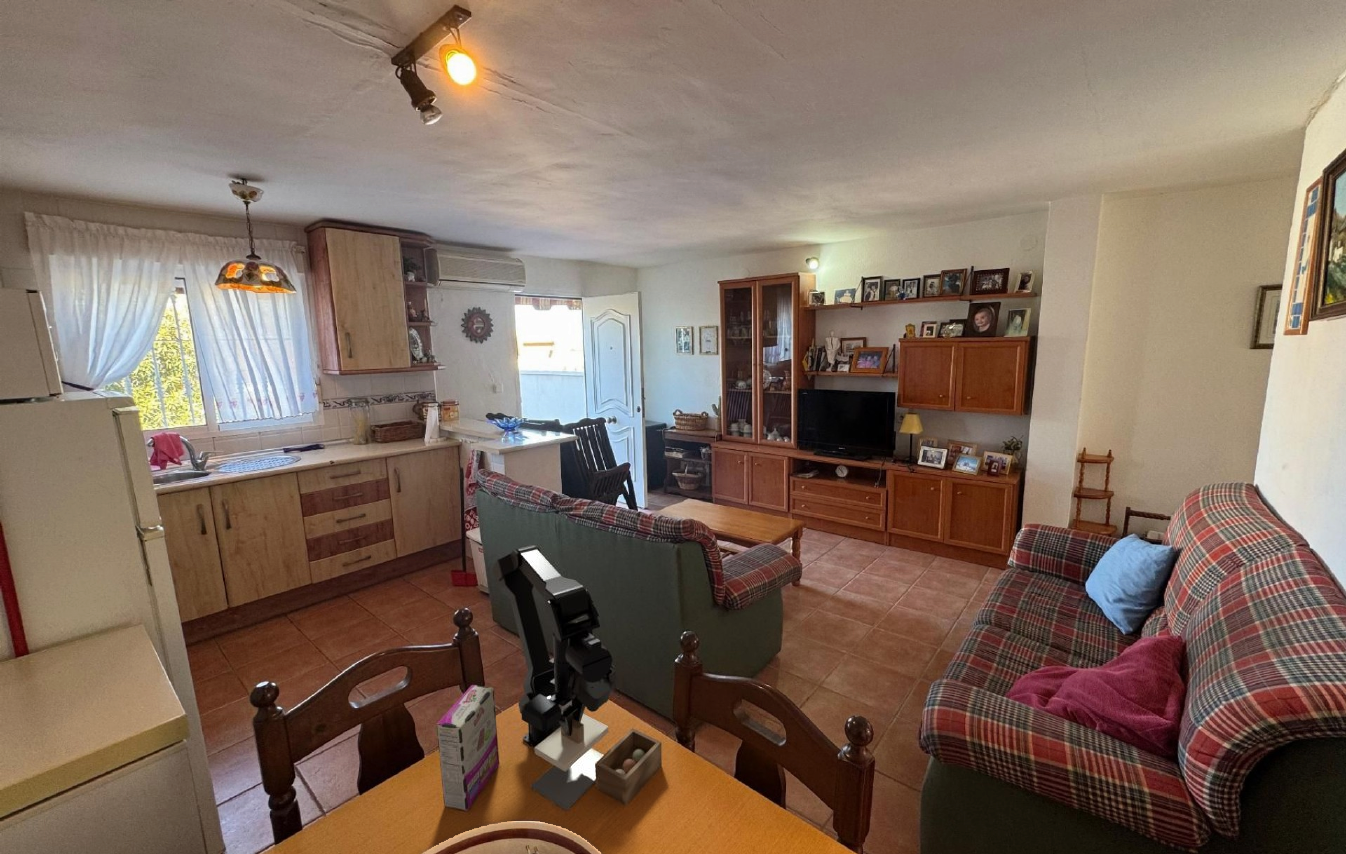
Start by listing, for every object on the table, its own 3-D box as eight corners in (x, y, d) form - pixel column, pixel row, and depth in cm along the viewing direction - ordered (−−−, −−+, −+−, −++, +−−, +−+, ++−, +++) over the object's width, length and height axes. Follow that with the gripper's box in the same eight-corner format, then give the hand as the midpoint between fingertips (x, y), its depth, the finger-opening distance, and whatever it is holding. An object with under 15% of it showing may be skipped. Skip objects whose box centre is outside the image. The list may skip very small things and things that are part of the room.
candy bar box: (476, 760, 105) (471, 683, 103) (500, 764, 104) (495, 686, 102) (441, 808, 94) (434, 723, 92) (467, 813, 93) (461, 726, 91)
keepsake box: (625, 805, 95) (625, 780, 94) (595, 788, 98) (595, 763, 98) (661, 765, 104) (661, 742, 103) (632, 750, 108) (632, 728, 107)
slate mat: (530, 787, 99) (530, 785, 98) (580, 744, 109) (580, 742, 109) (566, 810, 94) (566, 808, 94) (614, 763, 104) (614, 760, 104)
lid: (565, 776, 94) (564, 749, 93) (535, 758, 98) (533, 732, 97) (608, 736, 103) (608, 712, 103) (579, 721, 108) (578, 697, 107)
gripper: (564, 698, 86) (567, 785, 88) (636, 644, 101) (637, 719, 104) (517, 674, 92) (521, 756, 94) (591, 627, 107) (593, 699, 110)
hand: (572, 732), depth 100 cm, fingers closed on lid
